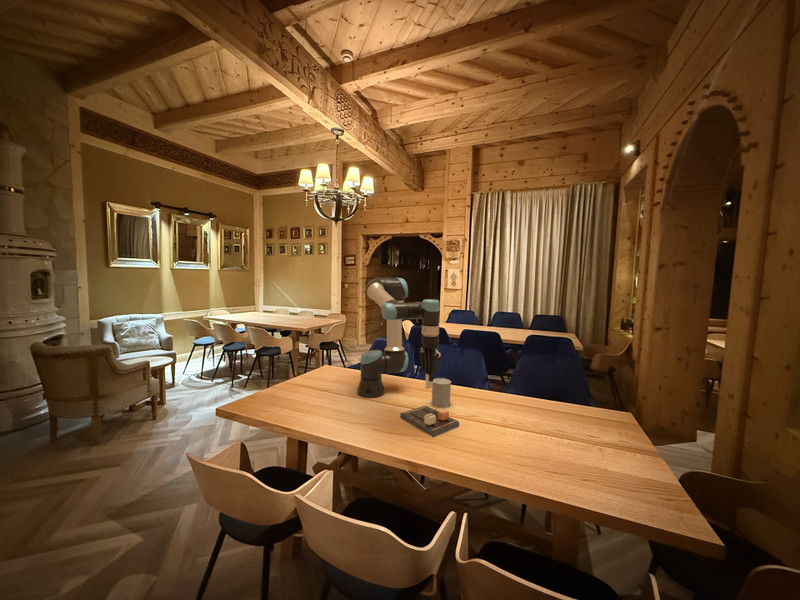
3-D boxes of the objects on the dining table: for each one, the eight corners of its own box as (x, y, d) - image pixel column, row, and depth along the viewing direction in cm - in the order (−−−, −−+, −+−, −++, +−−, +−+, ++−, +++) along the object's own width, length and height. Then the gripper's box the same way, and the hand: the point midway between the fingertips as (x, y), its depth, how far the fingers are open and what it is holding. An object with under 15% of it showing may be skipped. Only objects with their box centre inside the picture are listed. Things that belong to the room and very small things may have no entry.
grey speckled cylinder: (449, 401, 171) (450, 378, 170) (450, 408, 162) (451, 384, 161) (431, 400, 172) (432, 377, 171) (431, 407, 162) (432, 383, 161)
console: (400, 417, 150) (400, 413, 150) (425, 409, 160) (425, 405, 160) (433, 436, 133) (433, 432, 133) (459, 426, 143) (459, 421, 143)
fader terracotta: (437, 418, 145) (437, 410, 144) (443, 415, 147) (444, 408, 147) (442, 420, 142) (442, 413, 142) (448, 418, 145) (449, 410, 145)
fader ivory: (424, 422, 140) (424, 414, 140) (430, 420, 142) (431, 412, 142) (428, 425, 138) (429, 417, 137) (435, 422, 140) (435, 415, 140)
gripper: (413, 333, 143) (412, 385, 145) (434, 338, 133) (432, 394, 134) (426, 332, 148) (425, 382, 149) (447, 336, 137) (445, 390, 139)
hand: (428, 387), depth 142 cm, fingers closed
